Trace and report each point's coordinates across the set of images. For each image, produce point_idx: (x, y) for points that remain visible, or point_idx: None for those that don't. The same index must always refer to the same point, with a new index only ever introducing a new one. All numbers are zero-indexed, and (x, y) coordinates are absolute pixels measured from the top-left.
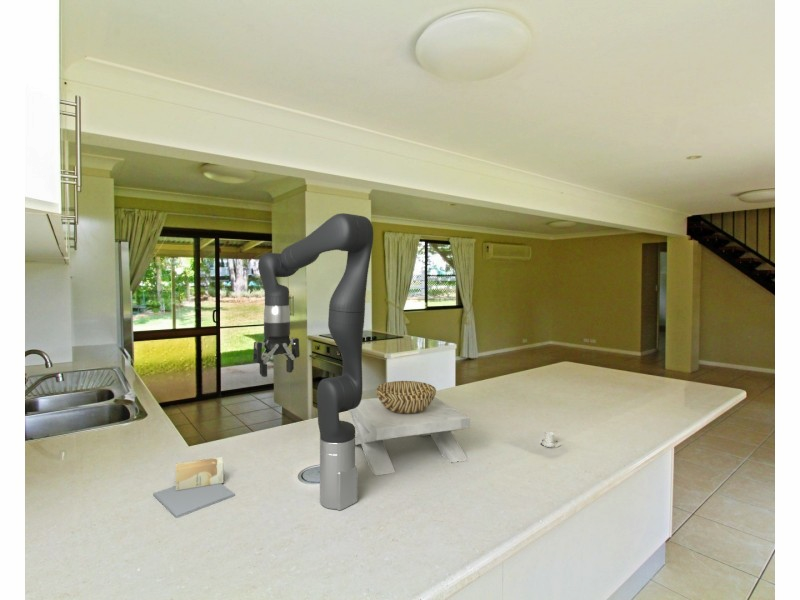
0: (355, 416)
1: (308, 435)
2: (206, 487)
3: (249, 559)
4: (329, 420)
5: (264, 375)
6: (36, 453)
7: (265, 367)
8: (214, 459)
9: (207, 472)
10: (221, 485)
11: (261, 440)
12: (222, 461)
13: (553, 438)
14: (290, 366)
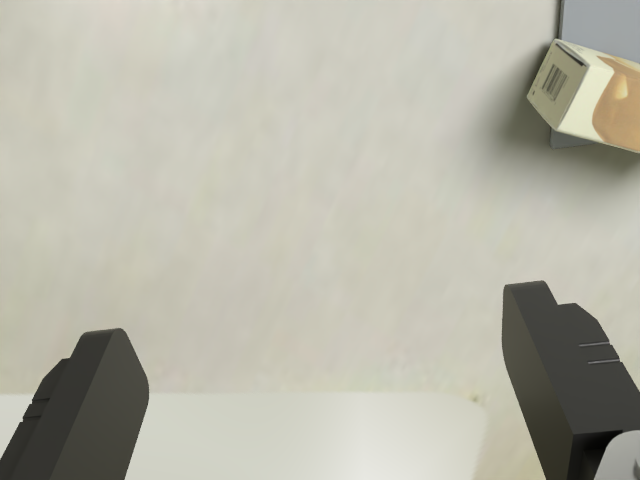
0: None
1: (70, 278)
2: (619, 43)
3: None
4: None
5: (547, 299)
6: None
7: (588, 385)
8: (599, 121)
9: (637, 70)
10: (569, 21)
11: (256, 328)
12: (586, 77)
13: None
14: (86, 391)
